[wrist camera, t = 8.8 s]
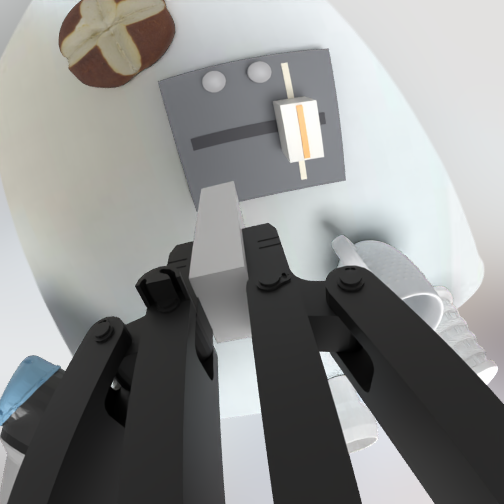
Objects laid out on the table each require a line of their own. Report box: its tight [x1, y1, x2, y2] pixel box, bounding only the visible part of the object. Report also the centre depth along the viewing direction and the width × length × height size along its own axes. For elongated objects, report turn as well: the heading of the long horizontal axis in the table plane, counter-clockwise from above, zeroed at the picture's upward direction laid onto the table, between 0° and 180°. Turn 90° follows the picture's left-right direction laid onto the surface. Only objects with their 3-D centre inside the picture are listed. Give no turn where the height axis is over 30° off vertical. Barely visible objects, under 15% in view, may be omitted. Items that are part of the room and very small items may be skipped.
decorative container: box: [433, 286, 498, 385], centre depth 39 cm, size 12×12×18 cm
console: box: [158, 49, 346, 212], centre depth 27 cm, size 16×14×4 cm
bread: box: [59, 0, 175, 88], centre depth 19 cm, size 11×11×5 cm
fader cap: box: [273, 96, 324, 163], centre depth 24 cm, size 3×5×4 cm, turn 12°
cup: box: [328, 375, 378, 454], centre depth 51 cm, size 11×11×15 cm
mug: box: [331, 235, 444, 331], centre depth 33 cm, size 15×11×13 cm
